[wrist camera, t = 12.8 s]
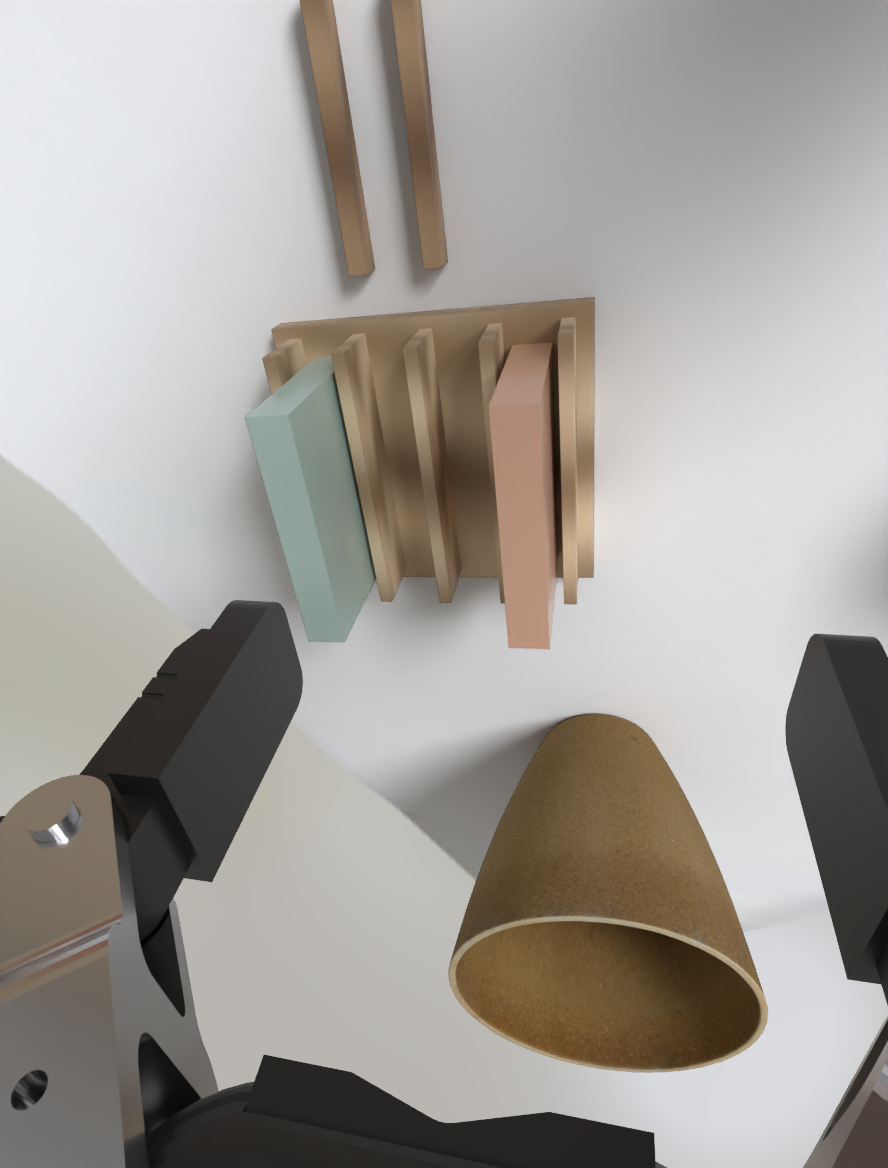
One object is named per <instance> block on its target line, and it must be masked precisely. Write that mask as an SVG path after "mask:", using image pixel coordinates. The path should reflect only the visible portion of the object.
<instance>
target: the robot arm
mask: <svg viewBox="0 0 888 1168" xmlns="http://www.w3.org/2000/svg"><path fill="white" fill-rule="evenodd" d="M302 685H303V678H302V670H301V666H300V663H299V659H298V655H297V652H296V648H295V645H294V641H293V638H292V634H291V631H290V627H289V623H288V620H287V616H286V613H285V610H284V608H283V607H282V605H281V604H279V603H277V602H260V601H242V600H234V601H232V602H231V603H229V604H228V605H227V607H226V608H225V609H224V611H223V612H222V613H221V615H220V616H219V618H218V619H217V620H216V622H215V623H214V625H213V626H212V627H211V629H201V630H199V631H198V632H197V633H195V634H194V635H193V636H191V637H190V638H189V639H187V640H186V641H185V642H183V643H182V644H181V645H179V646H178V647H177V648H175V649H174V650H173V652H172V653H171V654H170V656H169V657H168V658H167V660H166V661H165V662H164V664H163V665H162V666H161V668H160V669H159V670H158V672H157V677H156V678H155V677H153V678H152V680H151V681H150V682H149V684H148V685H147V686H146V688H145V689H144V690H143V692H142V697H141V698H140V697H139V698H137V700H136V701H135V702H134V704H133V705H132V706H131V708H130V709H129V710H128V711H127V713H126V714H125V715H124V717H123V718H122V719H121V721H120V722H119V724H118V725H117V726H116V728H115V729H114V730H113V731H112V733H111V734H110V736H109V737H108V738H107V739H106V741H105V742H104V743H103V745H102V746H101V748H100V749H99V750H98V751H97V753H96V754H95V755H94V757H93V758H92V759H91V761H90V762H89V763H88V765H87V766H86V767H85V769H84V770H83V771H82V772H81V773H80V775H74V776H67V777H63V778H59V779H56V780H53V781H51V782H49V783H46V784H44V785H42V786H40V787H39V788H37V789H35V790H33V791H32V792H31V793H29V794H28V795H26V796H25V797H24V798H23V799H21V800H20V801H19V802H18V803H16V804H15V806H14V807H13V808H12V809H11V810H10V811H9V812H8V813H7V815H6V816H2V817H0V1168H666V1167H664V1166H663V1165H661V1164H659V1163H657V1162H656V1161H655V1146H654V1133H651V1132H646V1131H641V1130H636V1129H631V1128H626V1127H621V1126H616V1125H611V1124H606V1123H601V1122H596V1121H591V1120H586V1119H581V1118H576V1117H572V1116H566V1115H562V1114H557V1113H552V1112H545V1113H537V1114H529V1115H520V1116H511V1117H502V1118H494V1119H485V1120H476V1121H468V1122H459V1123H443V1122H438V1121H436V1120H434V1119H432V1118H430V1117H428V1116H427V1115H425V1114H423V1113H421V1112H420V1111H418V1110H416V1109H415V1108H413V1107H411V1106H409V1105H408V1104H406V1103H404V1102H402V1101H401V1100H399V1099H397V1098H395V1097H394V1096H392V1095H390V1094H388V1093H387V1092H385V1091H383V1090H381V1089H380V1088H378V1087H376V1086H374V1085H373V1084H371V1083H369V1082H367V1081H366V1080H364V1079H362V1078H360V1077H359V1076H357V1075H355V1074H354V1073H351V1072H348V1071H343V1070H337V1069H333V1068H327V1067H322V1066H318V1065H312V1064H307V1063H302V1062H298V1061H293V1060H287V1059H282V1058H277V1057H273V1056H268V1055H264V1056H263V1059H262V1062H261V1065H260V1067H259V1070H258V1073H257V1076H256V1079H255V1082H250V1083H245V1084H241V1085H238V1086H235V1087H231V1088H227V1089H224V1090H221V1091H218V1087H217V1083H216V1079H215V1075H214V1072H213V1069H212V1065H211V1063H210V1059H209V1057H208V1054H207V1052H206V1049H205V1047H204V1044H203V1042H202V1039H201V1035H200V1032H199V1028H198V1024H197V1019H196V1014H195V1008H194V1002H193V996H192V990H191V985H190V979H189V973H188V967H187V962H186V956H185V950H184V944H183V938H182V933H181V927H180V921H179V915H178V909H177V906H176V902H175V901H174V899H173V897H174V895H175V893H176V891H177V889H178V887H179V886H180V884H181V882H182V880H183V878H188V879H195V880H201V881H208V882H212V881H213V879H214V877H215V875H216V873H217V871H218V869H219V867H220V864H221V863H222V861H223V858H224V856H225V854H226V852H227V850H228V848H229V846H230V844H231V842H232V840H233V838H234V836H235V834H236V832H237V830H238V828H239V826H240V824H241V822H242V820H243V817H244V815H245V814H246V811H247V810H248V808H249V805H250V803H251V801H252V799H253V797H254V795H255V793H256V791H257V789H258V787H259V785H260V783H261V781H262V779H263V777H264V775H265V773H266V771H267V769H268V767H269V765H270V763H271V760H272V759H273V757H274V755H275V752H276V750H277V748H278V746H279V744H280V742H281V740H282V738H283V736H284V734H285V732H286V730H287V728H288V726H289V724H290V722H291V720H292V718H293V716H294V714H295V712H296V710H297V707H298V705H299V702H300V698H301V694H302ZM786 745H787V751H788V755H789V759H790V763H791V767H792V770H793V774H794V778H795V782H796V785H797V789H798V793H799V797H800V801H801V804H802V808H803V812H804V816H805V820H806V823H807V827H808V831H809V835H810V839H811V842H812V846H813V850H814V854H815V858H816V861H817V865H818V869H819V873H820V877H821V880H822V884H823V888H824V892H825V896H826V899H827V903H828V907H829V911H830V915H831V918H832V922H833V926H834V929H835V933H836V937H837V941H838V945H839V948H840V952H841V956H842V960H843V964H844V967H845V971H846V975H847V979H850V980H856V981H863V982H870V983H877V984H882V988H883V991H884V994H885V998H886V1001H887V1004H888V657H887V655H886V653H885V651H884V649H883V647H882V645H881V643H880V642H879V640H878V639H876V638H875V637H865V636H847V635H829V634H814V635H813V636H812V637H811V638H810V640H809V642H808V644H807V647H806V651H805V654H804V657H803V660H802V664H801V667H800V670H799V674H798V677H797V680H796V683H795V687H794V690H793V693H792V697H791V700H790V703H789V707H788V711H787V716H786ZM803 1168H888V1016H887V1018H886V1019H885V1021H884V1022H883V1024H882V1026H881V1028H880V1030H879V1032H878V1034H877V1035H876V1037H875V1039H874V1041H873V1043H872V1044H871V1046H870V1048H869V1050H868V1052H867V1054H866V1056H865V1057H864V1059H863V1061H862V1063H861V1064H860V1066H859V1068H858V1070H857V1072H856V1074H855V1076H854V1077H853V1079H852V1081H851V1083H850V1085H849V1086H848V1088H847V1090H846V1092H845V1094H844V1096H843V1098H842V1099H841V1101H840V1103H839V1105H838V1107H837V1108H836V1110H835V1112H834V1114H833V1116H832V1117H831V1119H830V1121H829V1123H828V1125H827V1127H826V1129H825V1130H824V1132H823V1134H822V1136H821V1138H820V1140H819V1141H818V1143H817V1145H816V1147H815V1148H814V1150H813V1152H812V1153H811V1155H810V1157H809V1159H808V1160H807V1162H806V1164H805V1165H804V1167H803Z"/></svg>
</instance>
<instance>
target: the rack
mask: <svg viewBox="0 0 888 1168" xmlns="http://www.w3.org/2000/svg"><path fill="white" fill-rule="evenodd" d="M594 317H595V297H592V298H580V299H568V300H556V301H544V302H532V303H520V304H508V305H496V306H484V307H472V308H460V309H448V310H436V311H424V312H412V313H400V314H388V315H376V316H364V317H352V318H340V319H328V320H316V321H304V322H292V323H281V324H279V325H278V326H276V327H275V328H273V329H271V331H272V335H273V339H274V343H275V347H276V349H275V350H274V351H272V352H271V353H269V354H268V355H266V356H265V357H264V358H262V359H263V363H264V367H265V371H266V375H267V379H268V383H269V387H270V390H271V394H273V393H274V392H275V391H277V390H278V389H279V388H280V387H281V386H282V385H284V384H285V383H286V382H287V381H288V380H290V379H291V378H292V377H293V376H294V375H296V374H297V373H298V372H299V371H300V370H301V369H303V368H304V367H305V366H306V365H307V364H309V363H310V362H311V361H312V360H313V359H315V358H320V357H332V362H333V367H334V372H335V377H336V382H337V387H338V392H339V397H340V402H341V406H342V411H343V416H344V421H345V426H346V431H347V436H348V441H349V446H350V451H351V456H352V460H353V465H354V470H355V475H356V480H357V485H358V490H359V495H360V500H361V505H362V509H363V514H364V519H365V524H366V529H367V534H368V539H369V544H370V549H371V554H372V559H373V563H374V568H375V573H376V578H377V583H378V588H379V593H380V598H381V602H392V601H393V599H394V596H395V594H396V592H397V589H398V587H399V585H400V582H401V580H402V578H403V577H436V580H437V586H438V593H439V600H440V602H444V603H451V601H452V598H453V595H454V592H455V588H456V585H457V582H458V579H459V577H499V588H500V600H501V603H505V597H504V585H503V573H502V561H501V549H500V537H499V525H498V513H497V501H496V489H495V477H494V465H493V453H492V441H491V429H490V417H489V404H490V401H491V399H492V396H493V394H494V391H495V388H496V386H497V383H498V381H499V378H500V376H501V373H502V371H503V368H504V365H505V363H506V360H507V358H508V355H509V353H510V350H511V347H512V345H521V344H535V343H549V342H553V367H554V402H555V436H556V471H557V505H558V540H559V558H558V568H557V577H564V604H577V584H578V578H593V573H594Z"/></svg>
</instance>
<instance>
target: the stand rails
mask: <svg viewBox="0 0 888 1168" xmlns="http://www.w3.org/2000/svg"><path fill="white" fill-rule="evenodd" d="M300 3H301V8H302V14H303V20H304V25H305V31H306V36H307V42H308V48H309V53H310V59H311V64H312V70H313V76H314V81H315V87H316V92H317V98H318V104H319V109H320V115H321V121H322V126H323V132H324V137H325V143H326V149H327V154H328V160H329V165H330V171H331V177H332V182H333V188H334V193H335V199H336V205H337V210H338V216H339V221H340V227H341V233H342V238H343V244H344V249H345V255H346V261H347V266H348V272H349V277H350V276H361V275H367V274H369V273H370V272H372V271H373V270H375V266H374V259H373V253H372V247H371V240H370V234H369V228H368V221H367V215H366V209H365V202H364V196H363V190H362V184H361V177H360V171H359V165H358V158H357V152H356V146H355V139H354V133H353V127H352V120H351V114H350V108H349V101H348V95H347V89H346V83H345V76H344V70H343V64H342V57H341V51H340V45H339V38H338V32H337V26H336V19H335V13H334V7H333V0H300ZM391 6H392V14H393V23H394V31H395V39H396V47H397V55H398V63H399V72H400V80H401V88H402V96H403V104H404V112H405V121H406V129H407V137H408V145H409V153H410V161H411V170H412V178H413V186H414V194H415V202H416V210H417V219H418V227H419V235H420V243H421V251H422V259H423V267H424V269H432V268H442V267H443V266H444V265H445V264H446V263H447V262H448V260H447V250H446V240H445V231H444V221H443V212H442V202H441V193H440V183H439V173H438V164H437V154H436V145H435V135H434V125H433V116H432V106H431V97H430V87H429V77H428V68H427V58H426V49H425V39H424V29H423V20H422V10H421V1H420V0H391Z"/></svg>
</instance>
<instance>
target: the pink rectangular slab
mask: <svg viewBox="0 0 888 1168" xmlns="http://www.w3.org/2000/svg"><path fill="white" fill-rule="evenodd" d="M489 417H490V429H491V441H492V453H493V465H494V477H495V489H496V501H497V513H498V525H499V537H500V549H501V561H502V573H503V585H504V597H505V609H506V621H507V633H508V645H509V648H533V649H550V641H551V630H552V620H553V610H554V599H555V589H556V579H557V568H558V558H559V540H558V505H557V471H556V436H555V402H554V367H553V342H549V343H535V344H521V345H512V347H511V350H510V353H509V355H508V358H507V360H506V363H505V365H504V368H503V371H502V373H501V376H500V378H499V381H498V383H497V386H496V388H495V391H494V394H493V396H492V399H491V401H490V404H489Z"/></svg>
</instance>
